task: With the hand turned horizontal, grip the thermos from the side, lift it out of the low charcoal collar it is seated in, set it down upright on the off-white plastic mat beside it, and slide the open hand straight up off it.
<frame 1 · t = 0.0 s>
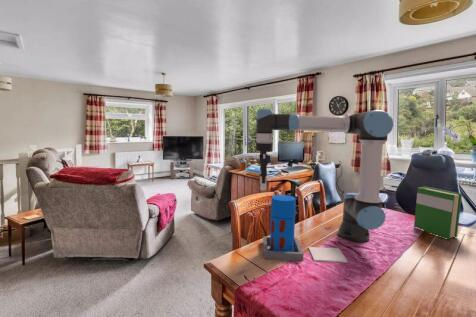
hand: (262, 186, 124), 28 cm above the table, tool pointing down, fingers open, 13 cm apart
mat: (327, 254, 116), on the table
hardback book: (434, 233, 143), on the table
collar: (281, 250, 119), on the table
thermos: (281, 251, 119), resting in collar
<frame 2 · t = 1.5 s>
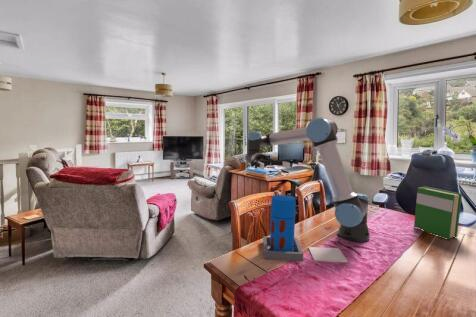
hand: (276, 166, 123), 38 cm above the table, tool horizontal, fingers open, 13 cm apart
nothing on the table moved.
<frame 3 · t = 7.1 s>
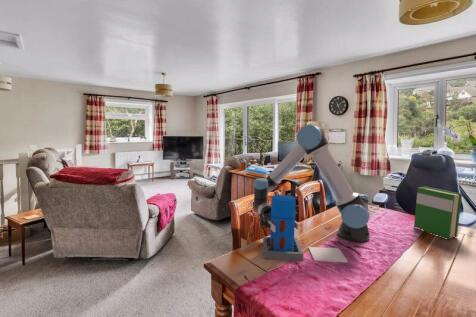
hand: (286, 227, 114), 13 cm above the table, tool horizontal, fingers closed on thermos, 11 cm apart
thermos: (281, 251, 119), resting in collar, touching gripper
everything else where it was.
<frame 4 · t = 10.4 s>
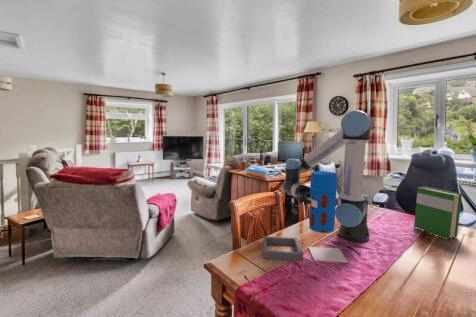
hand: (328, 203, 110), 24 cm above the table, tool horizontal, fingers closed on thermos, 11 cm apart
thermos: (321, 228, 115), point 12 cm above the table, touching gripper
everything else where it was.
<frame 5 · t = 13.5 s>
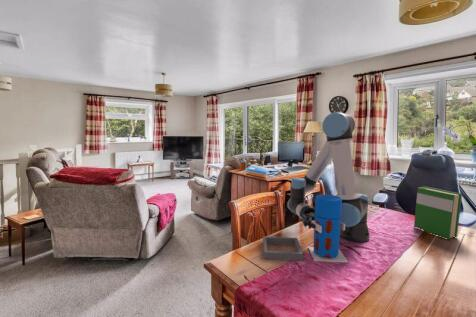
hand: (332, 228, 110), 14 cm above the table, tool horizontal, fingers closed on thermos, 11 cm apart
thermos: (325, 252, 116), point 1 cm above the table, touching gripper
everything else where it was.
when the fingers open (15 cm above the table, at t = 15.9 s): thermos stays where it is, resting on mat.
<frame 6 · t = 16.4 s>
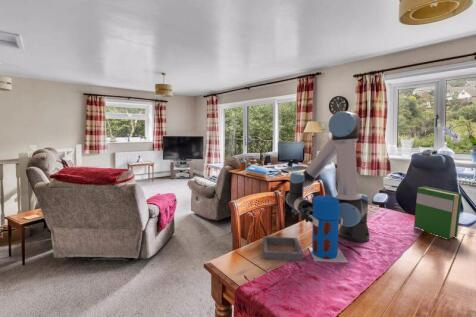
hand: (329, 222, 111), 16 cm above the table, tool horizontal, fingers open, 11 cm apart
thermos: (324, 253, 116), point 1 cm above the table, touching gripper, mat
everything else where it was.
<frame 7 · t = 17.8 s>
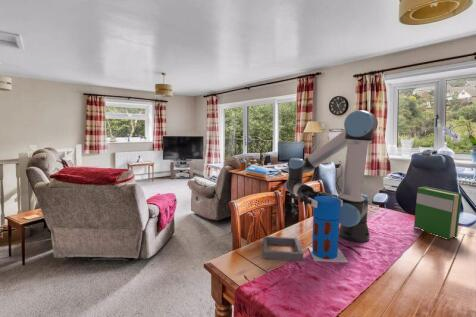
hand: (329, 204, 110), 24 cm above the table, tool horizontal, fingers open, 12 cm apart
nothing on the table moved.
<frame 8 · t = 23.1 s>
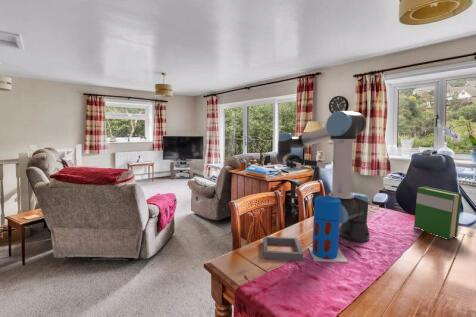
hand: (312, 166, 126), 38 cm above the table, tool horizontal, fingers open, 13 cm apart
thermos: (324, 254, 116), resting on mat
everything else where it was.
at the end: thermos inside the target area on the mat (1.1 cm from its centre), point 0.4 cm above the mat's base; thermos tilted 0°; the gripper is holding nothing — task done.
